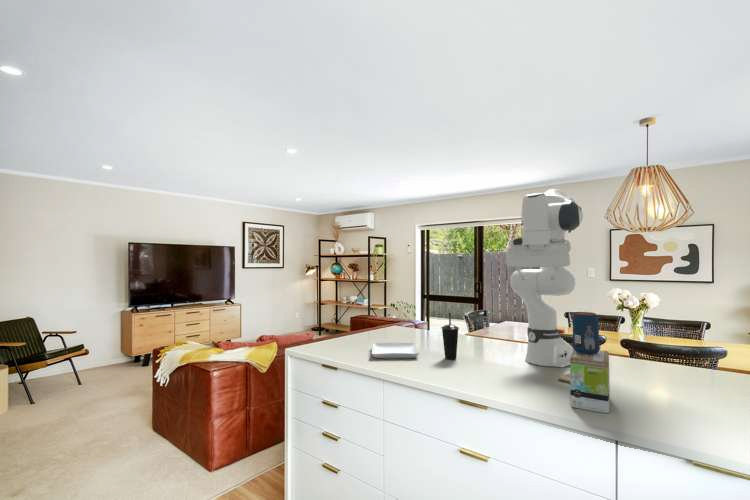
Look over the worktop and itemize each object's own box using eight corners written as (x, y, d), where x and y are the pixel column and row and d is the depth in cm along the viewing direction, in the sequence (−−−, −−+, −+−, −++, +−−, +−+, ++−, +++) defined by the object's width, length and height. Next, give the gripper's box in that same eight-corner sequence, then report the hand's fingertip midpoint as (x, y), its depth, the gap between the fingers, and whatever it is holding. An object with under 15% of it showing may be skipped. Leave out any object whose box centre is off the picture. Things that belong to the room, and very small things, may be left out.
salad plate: (419, 360, 166) (419, 352, 166) (371, 360, 166) (371, 353, 166) (415, 349, 187) (415, 342, 187) (372, 349, 187) (372, 342, 188)
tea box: (610, 414, 105) (608, 360, 105) (569, 407, 110) (568, 356, 110) (610, 397, 117) (608, 349, 118) (574, 392, 123) (572, 346, 123)
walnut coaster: (569, 374, 141) (569, 372, 141) (599, 380, 133) (599, 378, 133) (558, 380, 134) (558, 378, 134) (588, 387, 127) (588, 385, 127)
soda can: (584, 349, 119) (583, 311, 119) (605, 354, 112) (603, 313, 113) (568, 351, 117) (566, 312, 117) (587, 356, 110) (586, 315, 110)
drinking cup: (462, 357, 168) (461, 312, 169) (455, 361, 162) (454, 314, 162) (445, 355, 172) (444, 311, 173) (439, 359, 166) (438, 313, 166)
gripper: (569, 238, 129) (570, 279, 129) (506, 241, 137) (507, 279, 137) (571, 238, 123) (572, 280, 123) (504, 241, 131) (506, 280, 131)
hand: (537, 280), depth 130 cm, fingers open, 8 cm apart
